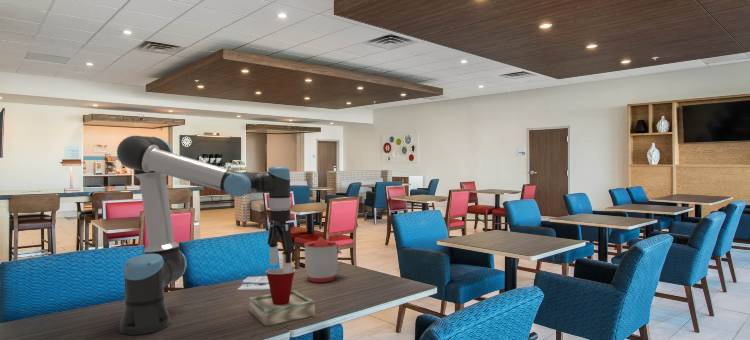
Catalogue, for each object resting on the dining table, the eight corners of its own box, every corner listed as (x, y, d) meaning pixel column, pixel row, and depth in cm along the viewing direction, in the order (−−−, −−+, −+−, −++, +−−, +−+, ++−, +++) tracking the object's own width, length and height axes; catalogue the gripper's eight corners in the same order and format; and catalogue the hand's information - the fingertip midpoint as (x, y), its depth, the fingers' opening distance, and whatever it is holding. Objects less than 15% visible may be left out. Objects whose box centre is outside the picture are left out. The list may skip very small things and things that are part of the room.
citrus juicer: (345, 282, 206) (344, 238, 206) (306, 285, 202) (305, 240, 201) (338, 274, 221) (338, 233, 221) (302, 277, 217) (302, 235, 216)
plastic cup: (299, 298, 170) (299, 266, 170) (291, 307, 159) (291, 273, 159) (271, 297, 171) (270, 265, 171) (261, 306, 160) (260, 272, 160)
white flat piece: (288, 279, 215) (288, 274, 215) (278, 291, 195) (278, 286, 195) (248, 279, 216) (247, 275, 216) (233, 291, 196) (233, 286, 195)
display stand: (265, 325, 153) (265, 311, 153) (249, 311, 168) (249, 297, 168) (314, 315, 162) (314, 301, 162) (295, 302, 178) (295, 289, 178)
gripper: (303, 212, 156) (303, 273, 156) (277, 206, 177) (278, 260, 177) (282, 213, 152) (282, 276, 152) (258, 207, 173) (259, 262, 173)
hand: (280, 268), depth 165 cm, fingers open, 13 cm apart
